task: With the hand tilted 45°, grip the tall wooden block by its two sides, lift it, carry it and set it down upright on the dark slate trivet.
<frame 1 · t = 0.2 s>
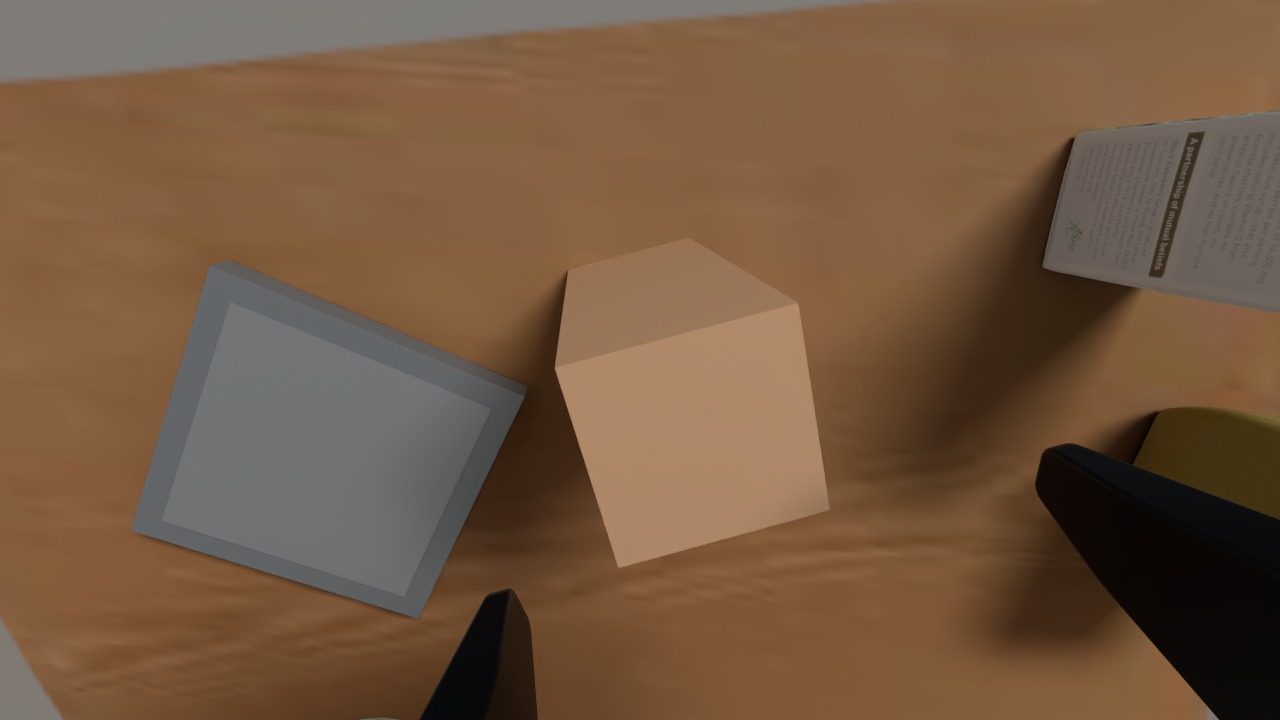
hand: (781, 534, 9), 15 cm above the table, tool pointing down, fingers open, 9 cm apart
trivet: (339, 450, 24), on the table
syrup box: (1110, 202, 24), on the table
block: (643, 312, 23), on the table
flower pot: (1171, 457, 29), on the table
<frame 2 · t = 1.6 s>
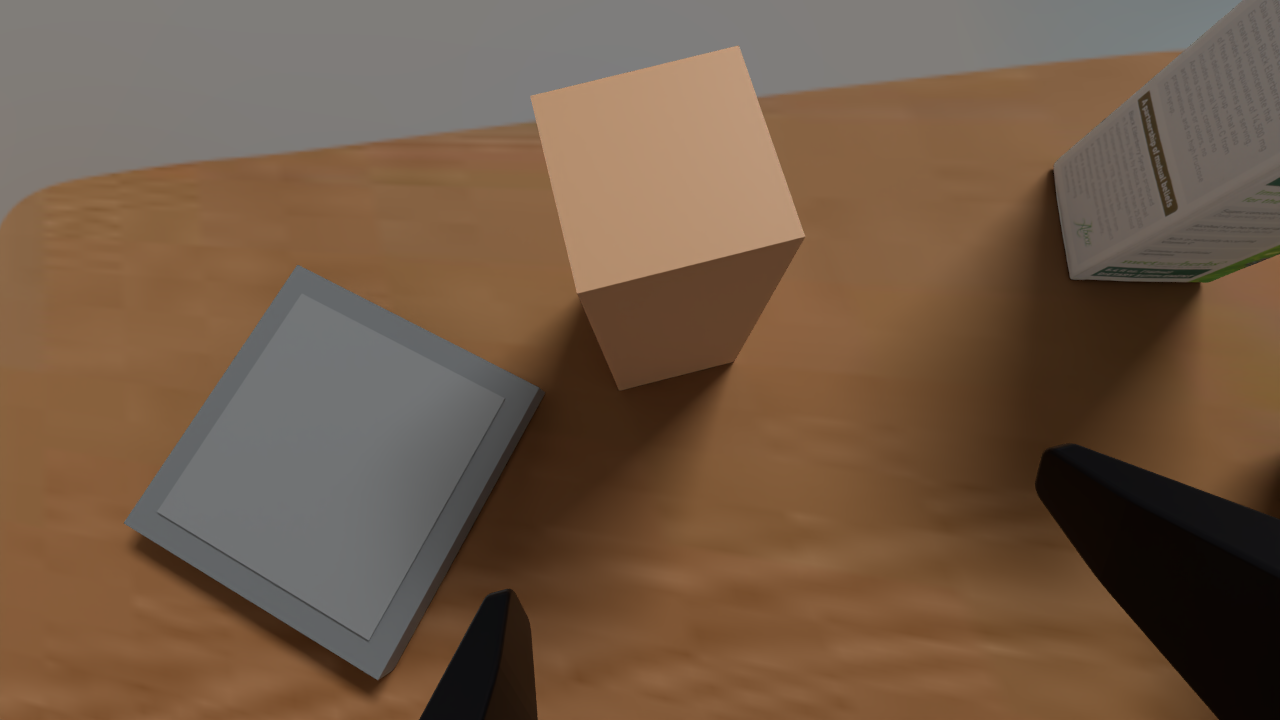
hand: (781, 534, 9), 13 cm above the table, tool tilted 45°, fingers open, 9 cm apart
trivet: (350, 456, 23), on the table
syrup box: (1119, 222, 25), on the table
block: (661, 321, 24), on the table
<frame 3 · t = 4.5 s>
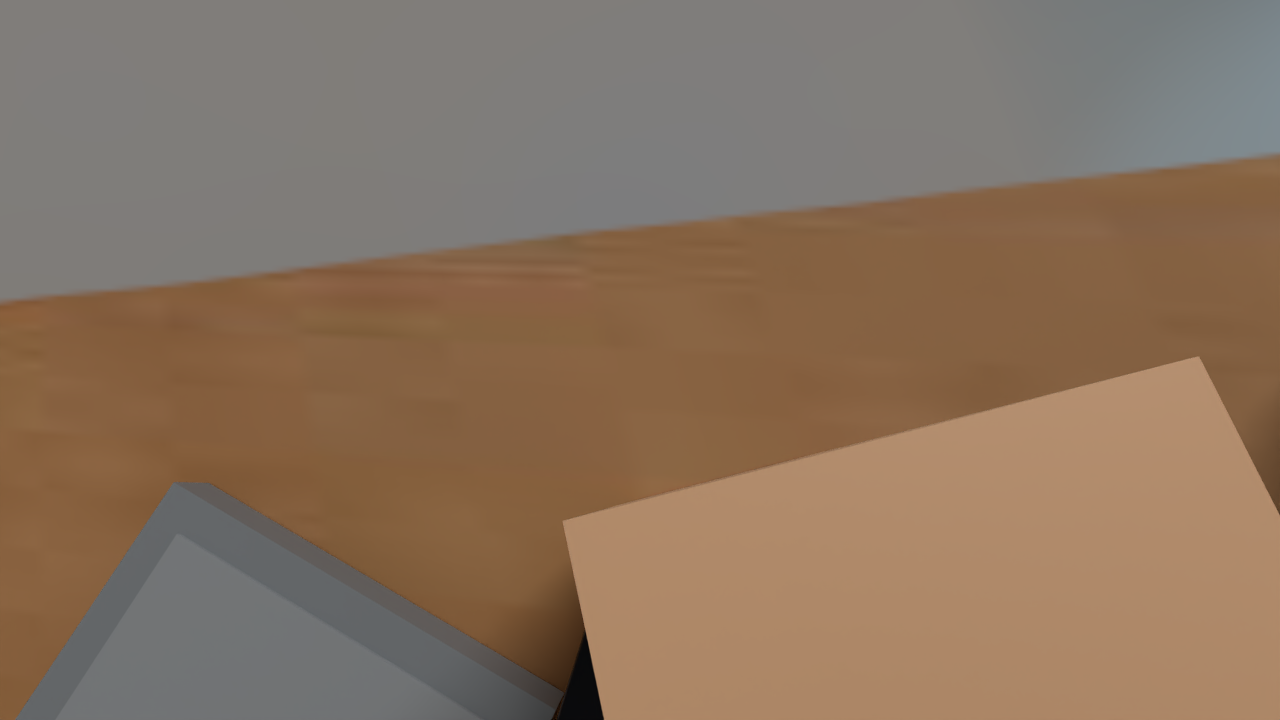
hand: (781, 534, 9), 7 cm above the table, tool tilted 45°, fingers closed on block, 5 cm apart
block: (746, 568, 15), on the table, touching gripper
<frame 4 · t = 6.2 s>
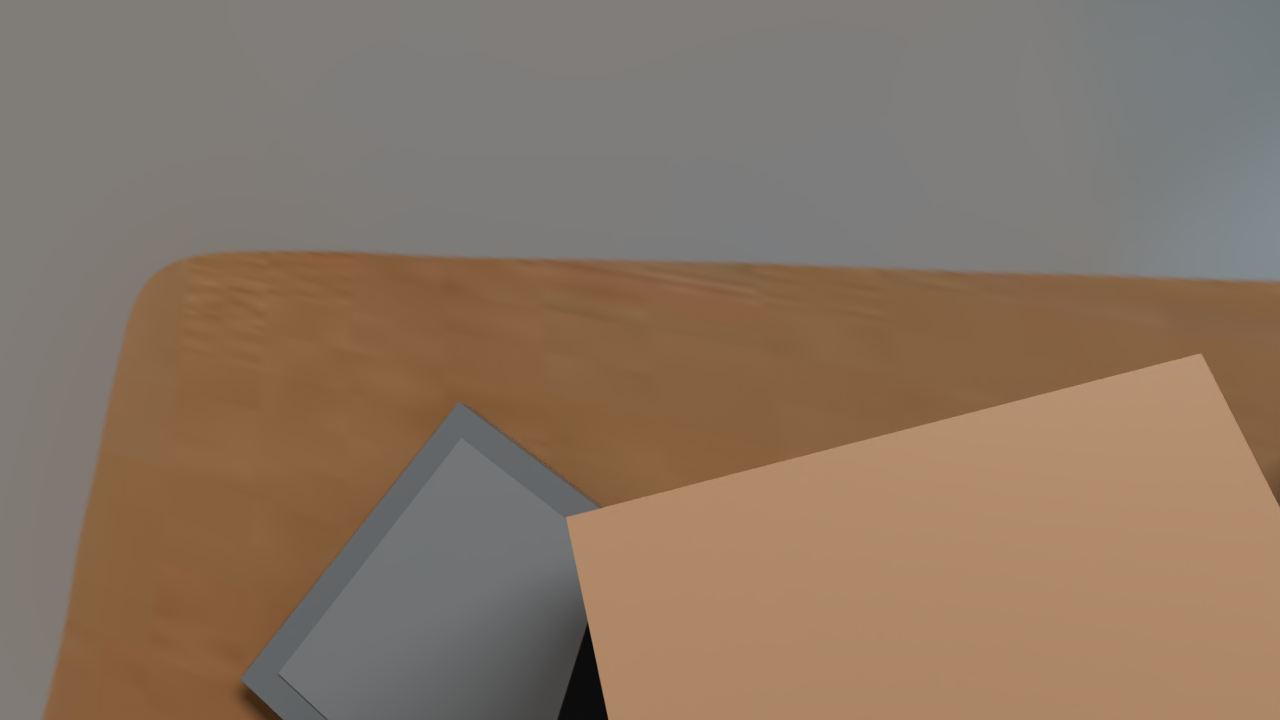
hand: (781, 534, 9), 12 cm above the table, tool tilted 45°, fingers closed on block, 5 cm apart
trivet: (489, 630, 21), on the table
block: (747, 567, 15), point 6 cm above the table, touching gripper
when the fingers open (9 cm above the table, at t = 8.3 s): block stays where it is, resting on trivet.
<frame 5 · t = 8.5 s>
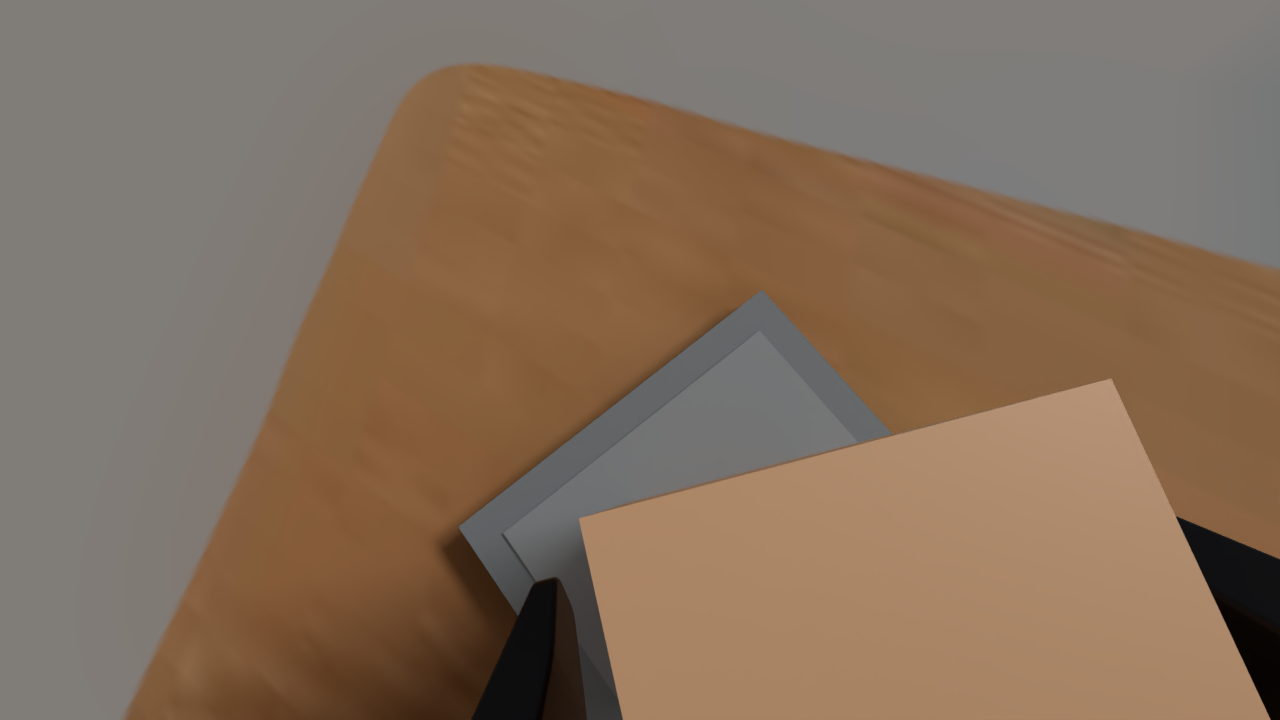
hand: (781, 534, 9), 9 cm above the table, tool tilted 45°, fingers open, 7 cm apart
trivet: (736, 558, 17), on the table
block: (742, 564, 16), point 1 cm above the table, touching trivet
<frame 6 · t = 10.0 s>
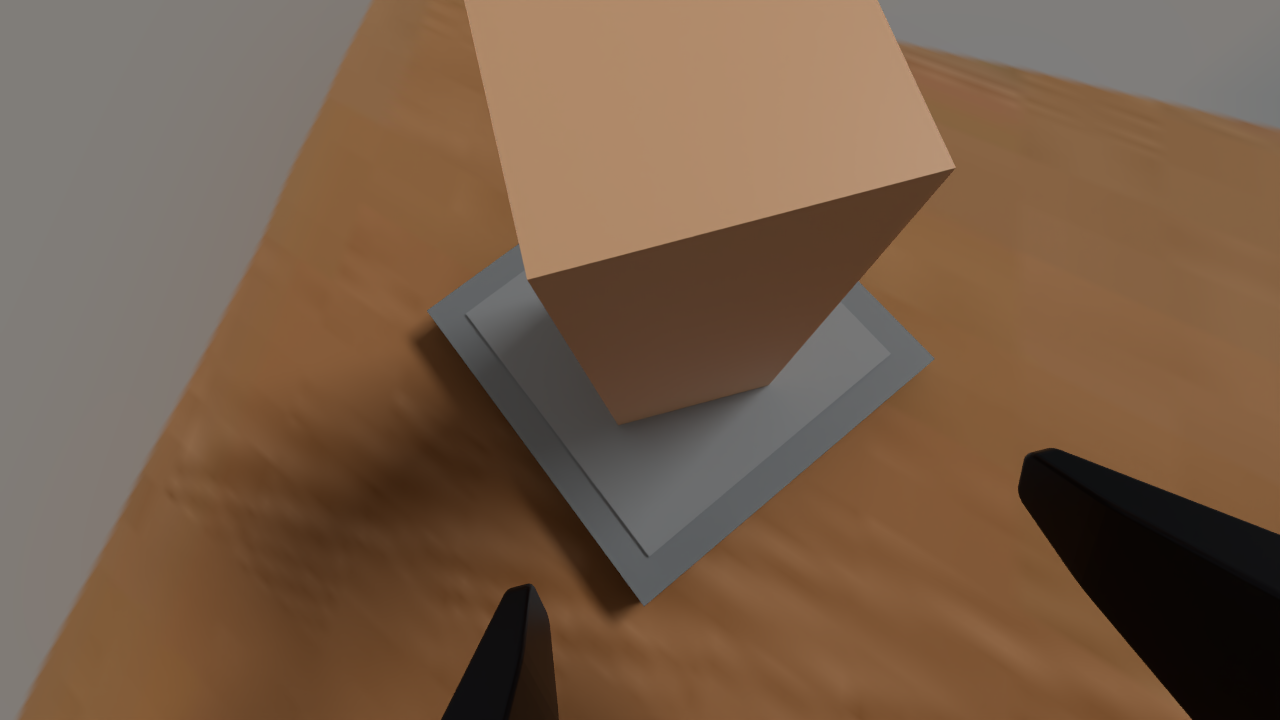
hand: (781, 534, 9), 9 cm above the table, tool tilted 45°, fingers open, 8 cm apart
trivet: (672, 343, 20), on the table
block: (672, 333, 19), point 1 cm above the table, touching trivet
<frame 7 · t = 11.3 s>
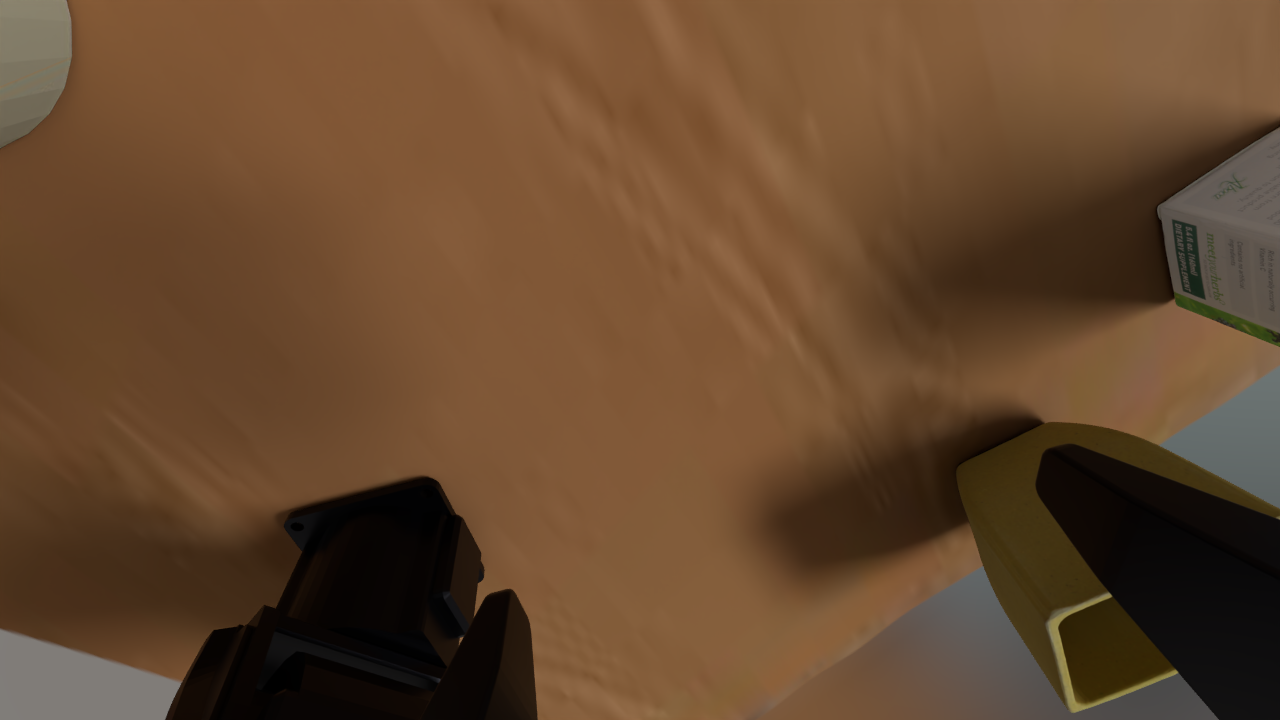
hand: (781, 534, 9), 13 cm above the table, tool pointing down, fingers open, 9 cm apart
syrup box: (1225, 213, 23), on the table
flower pot: (1002, 470, 29), on the table
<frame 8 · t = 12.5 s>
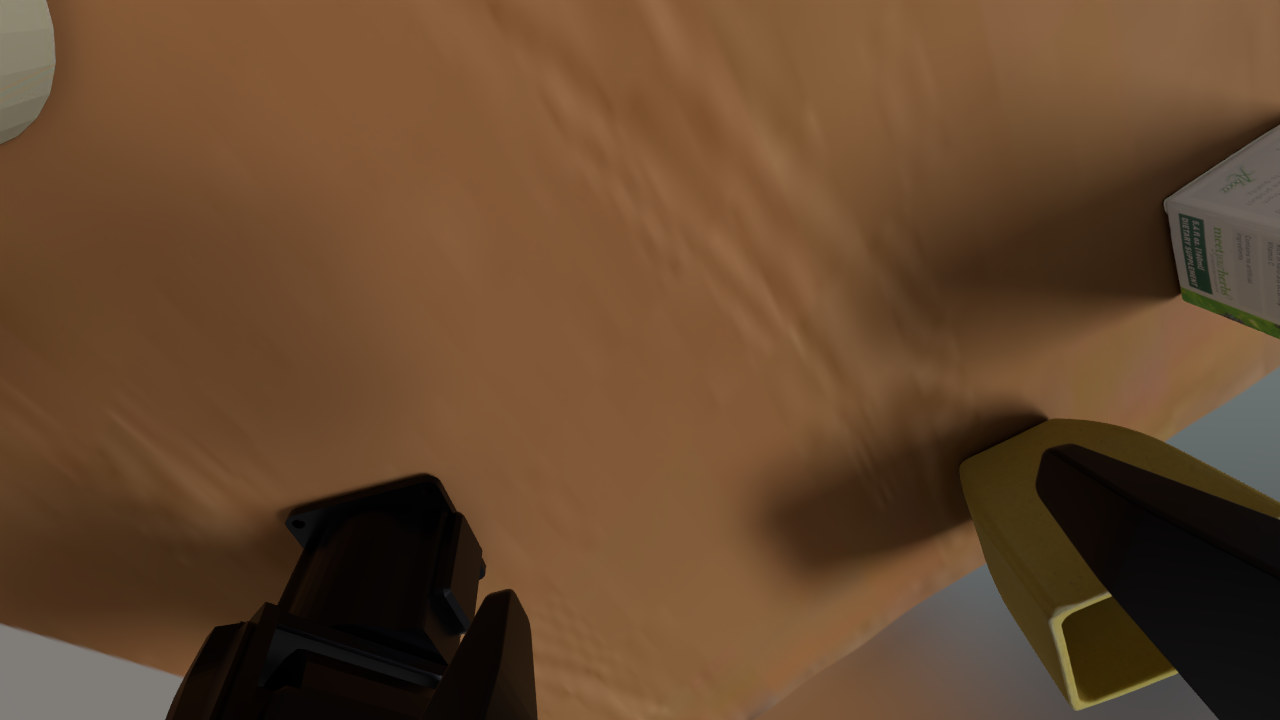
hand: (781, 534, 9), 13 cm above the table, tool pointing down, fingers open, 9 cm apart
syrup box: (1232, 206, 23), on the table
flower pot: (1006, 467, 29), on the table
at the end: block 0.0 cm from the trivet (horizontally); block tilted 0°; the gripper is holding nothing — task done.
